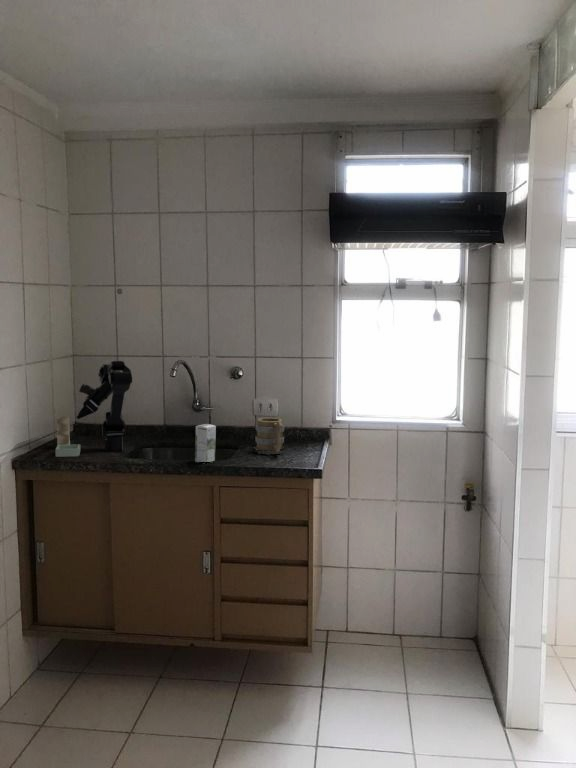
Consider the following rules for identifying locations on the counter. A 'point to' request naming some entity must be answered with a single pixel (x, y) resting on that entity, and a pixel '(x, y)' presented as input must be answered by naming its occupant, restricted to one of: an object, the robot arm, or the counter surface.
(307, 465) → the counter surface
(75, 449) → the holder
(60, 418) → the birch block
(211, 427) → the syrup box
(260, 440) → the tankard
